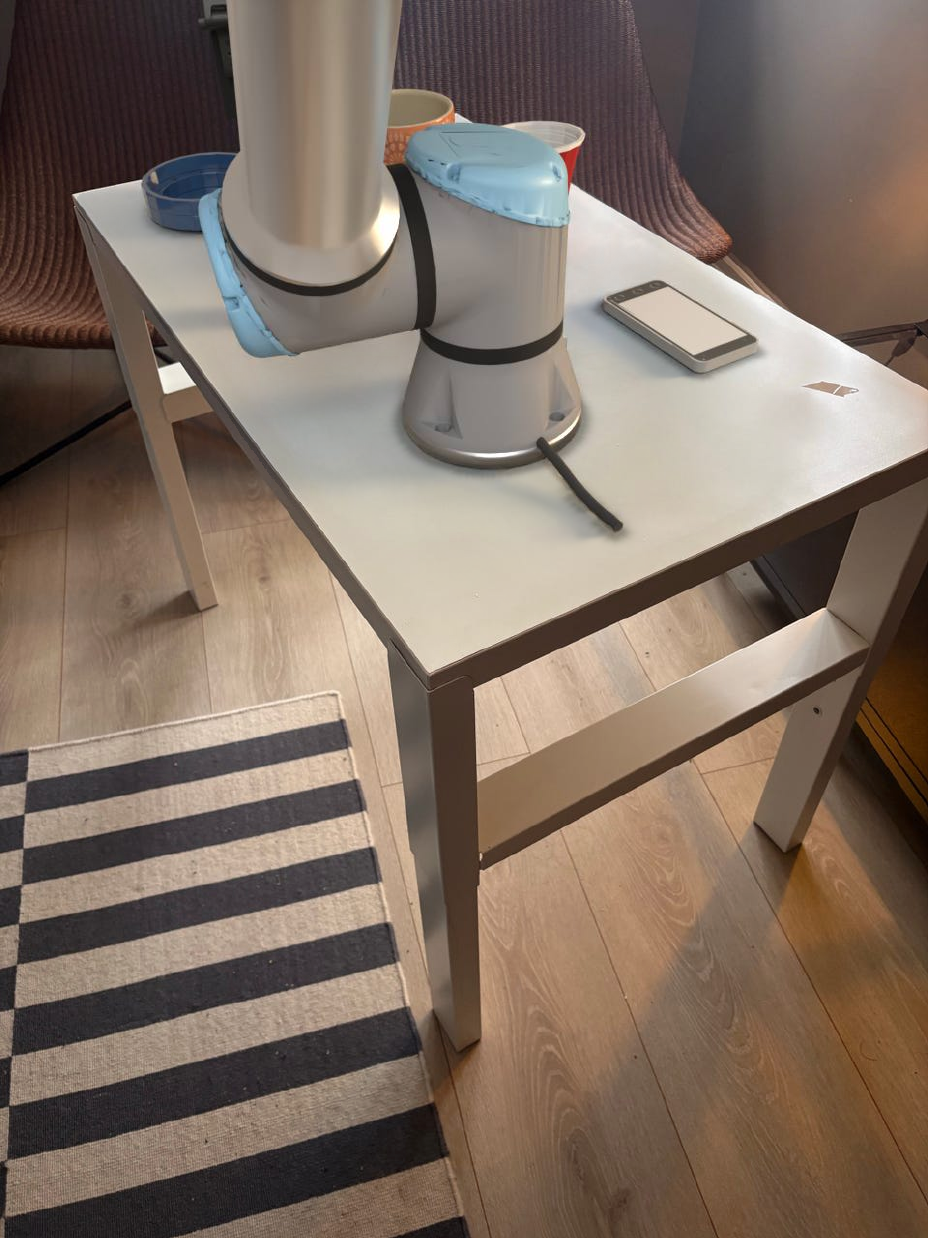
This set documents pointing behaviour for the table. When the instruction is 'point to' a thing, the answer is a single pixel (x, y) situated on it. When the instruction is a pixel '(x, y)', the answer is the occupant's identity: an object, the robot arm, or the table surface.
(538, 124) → the plastic cup
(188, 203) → the dish
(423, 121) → the planter
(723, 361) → the smartphone
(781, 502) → the table surface
